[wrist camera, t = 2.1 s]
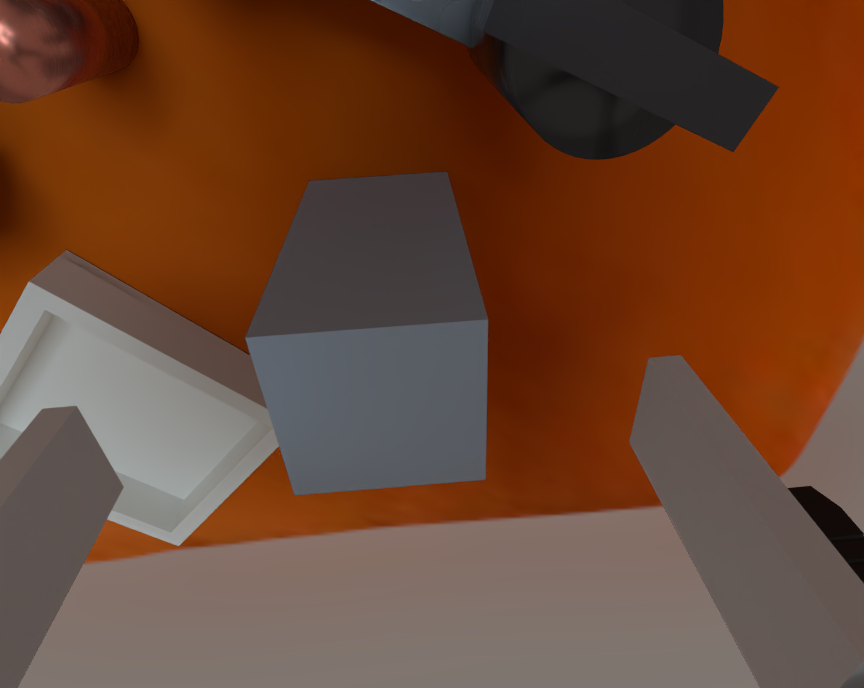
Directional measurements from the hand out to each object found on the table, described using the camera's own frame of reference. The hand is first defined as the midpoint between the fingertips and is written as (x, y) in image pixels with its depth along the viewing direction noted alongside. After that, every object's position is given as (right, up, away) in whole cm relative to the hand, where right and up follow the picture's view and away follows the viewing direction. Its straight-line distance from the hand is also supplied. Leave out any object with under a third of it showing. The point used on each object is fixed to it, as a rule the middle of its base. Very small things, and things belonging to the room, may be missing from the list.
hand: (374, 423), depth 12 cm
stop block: (0, +6, +8) cm, 10 cm away
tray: (-12, -1, +12) cm, 17 cm away
